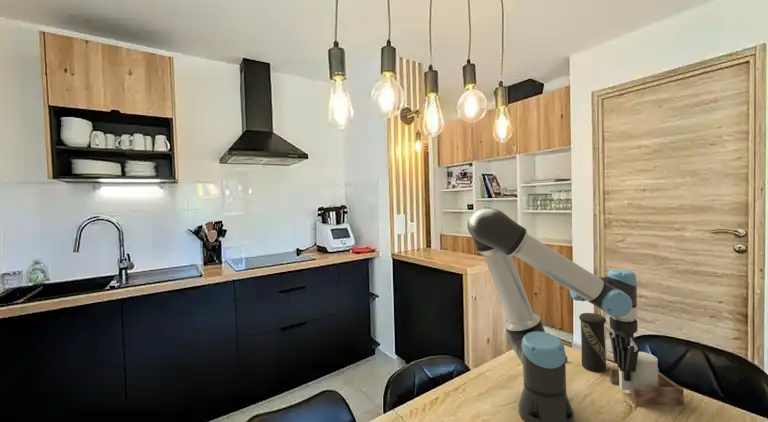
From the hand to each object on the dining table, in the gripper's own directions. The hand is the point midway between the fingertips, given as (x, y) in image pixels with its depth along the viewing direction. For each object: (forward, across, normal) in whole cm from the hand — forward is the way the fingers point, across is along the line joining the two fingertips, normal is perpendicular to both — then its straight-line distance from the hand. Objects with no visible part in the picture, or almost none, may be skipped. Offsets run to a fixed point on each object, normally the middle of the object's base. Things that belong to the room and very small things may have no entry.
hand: (625, 388), depth 116 cm
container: (+2, +18, +1) cm, 18 cm away
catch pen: (+1, 0, -6) cm, 6 cm away
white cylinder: (+2, 0, -6) cm, 6 cm away
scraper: (+2, +22, +16) cm, 27 cm away
